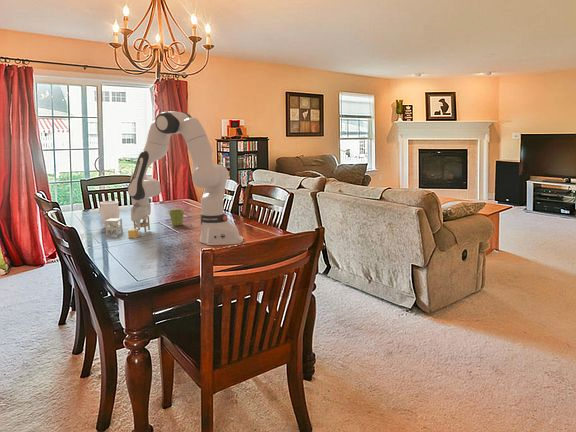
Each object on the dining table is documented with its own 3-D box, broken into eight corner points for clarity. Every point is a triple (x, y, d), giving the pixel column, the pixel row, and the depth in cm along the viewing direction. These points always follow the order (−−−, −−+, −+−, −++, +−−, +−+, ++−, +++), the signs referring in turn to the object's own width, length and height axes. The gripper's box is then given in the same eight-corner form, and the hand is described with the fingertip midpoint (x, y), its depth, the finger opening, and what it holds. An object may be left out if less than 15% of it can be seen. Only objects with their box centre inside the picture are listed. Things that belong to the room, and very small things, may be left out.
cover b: (122, 232, 240) (121, 218, 238) (117, 235, 233) (116, 220, 232) (111, 232, 240) (110, 218, 238) (106, 235, 233) (105, 220, 232)
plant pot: (166, 226, 255) (165, 212, 254) (173, 223, 264) (172, 209, 263) (181, 226, 254) (180, 212, 252) (187, 223, 263) (187, 209, 261)
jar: (124, 226, 256) (122, 201, 253) (109, 229, 247) (106, 203, 245) (113, 224, 262) (111, 200, 259) (98, 227, 253) (95, 202, 250)
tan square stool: (149, 229, 243) (148, 215, 241) (145, 232, 237) (144, 218, 235) (138, 229, 243) (137, 215, 241) (134, 232, 237) (133, 218, 235)
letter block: (138, 236, 232) (138, 228, 231) (135, 237, 228) (135, 230, 227) (131, 235, 232) (130, 228, 231) (128, 237, 228) (127, 230, 228)
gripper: (138, 204, 226) (140, 230, 229) (152, 198, 246) (153, 222, 249) (126, 204, 226) (128, 230, 229) (141, 198, 247) (143, 222, 249)
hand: (141, 226), depth 239 cm, fingers open, 6 cm apart
